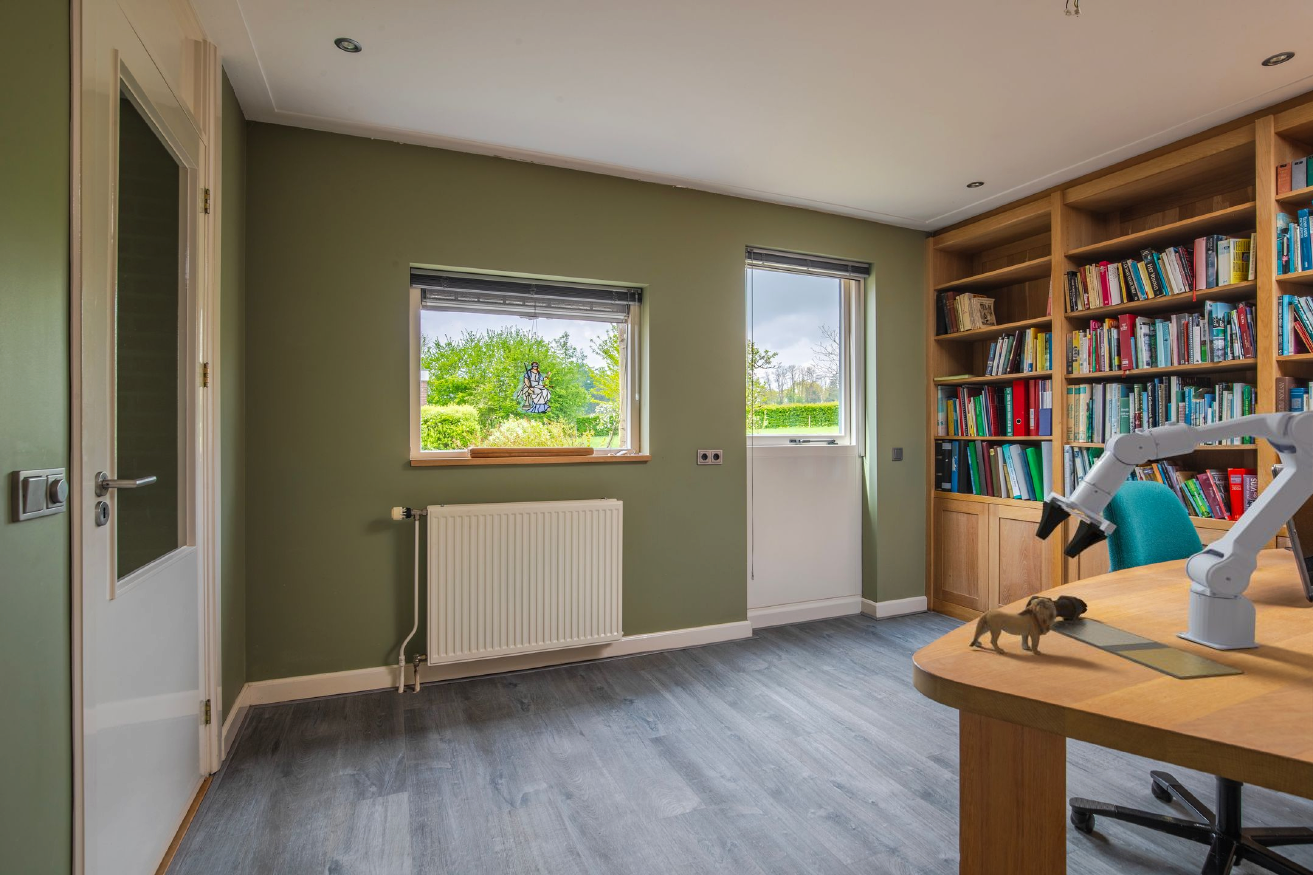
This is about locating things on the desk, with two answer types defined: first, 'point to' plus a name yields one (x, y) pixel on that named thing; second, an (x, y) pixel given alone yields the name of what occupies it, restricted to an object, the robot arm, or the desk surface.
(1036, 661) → the desk surface
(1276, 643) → the desk surface
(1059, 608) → the bolt
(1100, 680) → the desk surface
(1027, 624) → the lion figurine
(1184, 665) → the flat rectangular plate
